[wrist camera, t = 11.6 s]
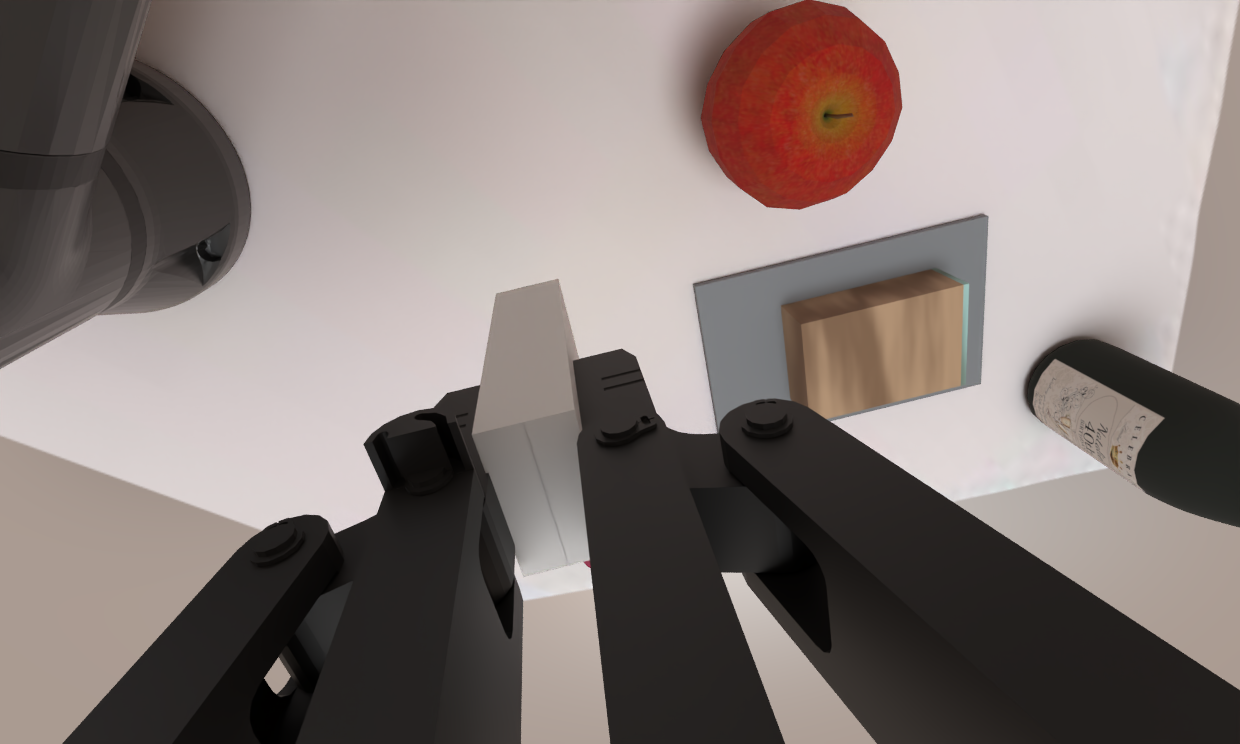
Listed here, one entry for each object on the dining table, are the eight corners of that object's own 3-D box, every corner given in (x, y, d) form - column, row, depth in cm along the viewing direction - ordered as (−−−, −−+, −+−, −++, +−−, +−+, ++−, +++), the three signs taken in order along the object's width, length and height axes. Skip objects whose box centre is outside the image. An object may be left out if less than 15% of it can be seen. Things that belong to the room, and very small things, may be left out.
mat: (719, 444, 52) (721, 448, 52) (693, 284, 46) (695, 286, 46) (976, 380, 53) (980, 383, 52) (983, 214, 47) (988, 216, 46)
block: (809, 423, 47) (965, 384, 47) (801, 324, 44) (969, 283, 44) (790, 398, 51) (935, 362, 51) (780, 305, 47) (936, 267, 48)
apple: (693, 4, 39) (769, -30, 26) (847, 26, 41) (987, 3, 28) (669, 179, 43) (725, 221, 31) (809, 193, 45) (917, 238, 32)
